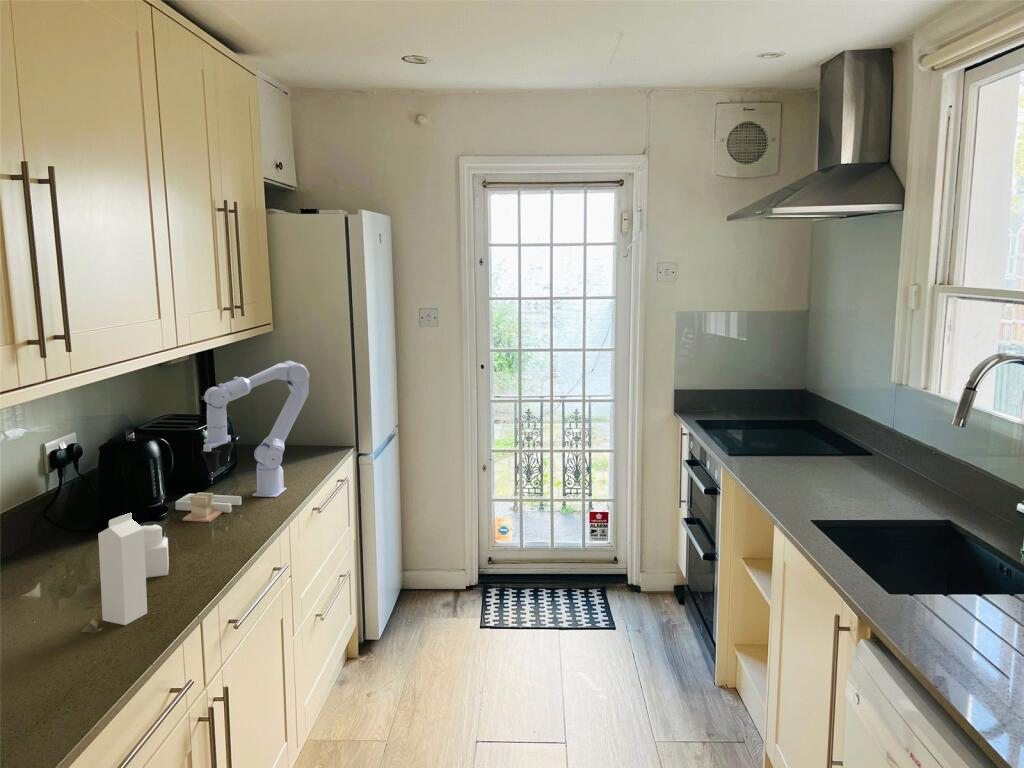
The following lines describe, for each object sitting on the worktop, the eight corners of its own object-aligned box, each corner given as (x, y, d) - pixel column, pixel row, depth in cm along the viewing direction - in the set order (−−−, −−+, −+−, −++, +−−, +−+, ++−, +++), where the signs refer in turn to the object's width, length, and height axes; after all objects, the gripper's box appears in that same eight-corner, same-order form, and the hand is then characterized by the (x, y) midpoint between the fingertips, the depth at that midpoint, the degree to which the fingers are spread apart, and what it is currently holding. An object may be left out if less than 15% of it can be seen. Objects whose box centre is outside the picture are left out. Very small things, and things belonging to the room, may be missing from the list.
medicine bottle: (136, 568, 182) (134, 520, 180) (168, 564, 185) (167, 517, 183) (134, 579, 175) (132, 530, 174) (168, 575, 178) (166, 527, 176)
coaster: (196, 511, 224) (195, 509, 224) (222, 513, 224) (221, 511, 224) (182, 520, 216) (182, 518, 216) (209, 521, 216) (209, 519, 216)
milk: (102, 621, 155) (96, 518, 152) (125, 608, 161) (120, 509, 157) (125, 625, 153) (119, 522, 150) (148, 613, 159) (143, 513, 156)
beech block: (198, 511, 222) (198, 492, 221) (213, 512, 222) (213, 493, 221) (191, 516, 218) (190, 496, 217) (206, 517, 218) (206, 497, 217)
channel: (189, 501, 234) (189, 493, 233) (241, 504, 233) (241, 496, 232) (175, 509, 225) (175, 501, 225) (229, 512, 224) (229, 504, 224)
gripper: (215, 420, 239) (216, 462, 241) (193, 430, 224) (194, 474, 226) (236, 421, 238) (237, 463, 240) (216, 431, 224) (217, 475, 226)
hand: (218, 468), depth 233 cm, fingers open, 7 cm apart
